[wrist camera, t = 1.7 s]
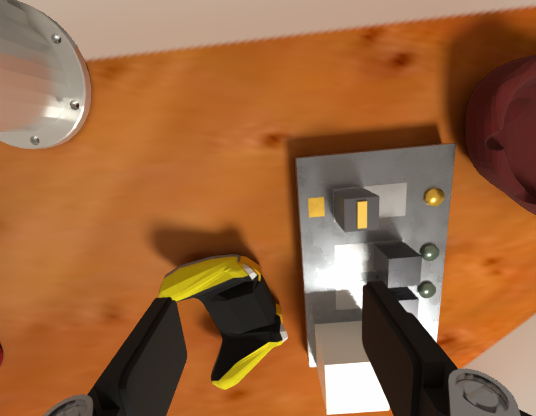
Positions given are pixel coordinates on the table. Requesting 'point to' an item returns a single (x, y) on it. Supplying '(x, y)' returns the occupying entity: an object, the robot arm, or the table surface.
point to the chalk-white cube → (346, 370)
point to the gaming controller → (231, 310)
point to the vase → (1, 357)
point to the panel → (374, 232)
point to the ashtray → (505, 130)
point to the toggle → (357, 210)
